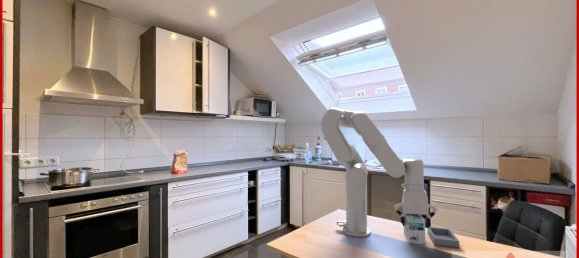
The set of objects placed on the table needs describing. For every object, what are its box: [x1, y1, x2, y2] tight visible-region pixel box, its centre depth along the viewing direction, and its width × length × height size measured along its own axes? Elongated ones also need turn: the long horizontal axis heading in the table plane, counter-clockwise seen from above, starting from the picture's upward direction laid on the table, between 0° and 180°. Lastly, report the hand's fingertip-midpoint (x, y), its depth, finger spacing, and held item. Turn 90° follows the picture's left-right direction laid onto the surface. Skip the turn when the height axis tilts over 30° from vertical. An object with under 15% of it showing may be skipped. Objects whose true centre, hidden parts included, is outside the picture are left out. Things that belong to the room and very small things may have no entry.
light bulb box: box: [403, 214, 426, 245], centre depth 116 cm, size 11×7×11 cm, turn 168°
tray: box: [426, 226, 460, 249], centre depth 114 cm, size 9×13×3 cm
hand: (415, 226), depth 116 cm, fingers open, 9 cm apart
